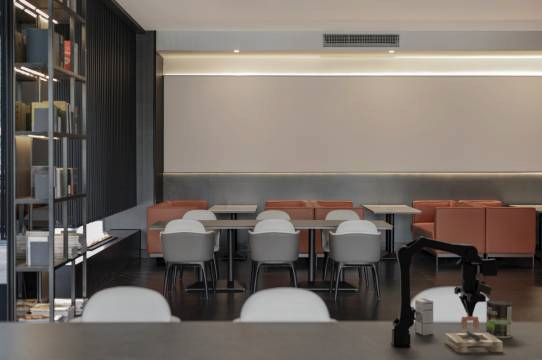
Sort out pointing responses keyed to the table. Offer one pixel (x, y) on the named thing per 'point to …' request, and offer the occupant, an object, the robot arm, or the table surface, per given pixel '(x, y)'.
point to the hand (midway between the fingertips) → (469, 315)
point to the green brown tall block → (499, 318)
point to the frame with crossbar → (473, 341)
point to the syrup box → (424, 316)
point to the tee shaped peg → (469, 318)
